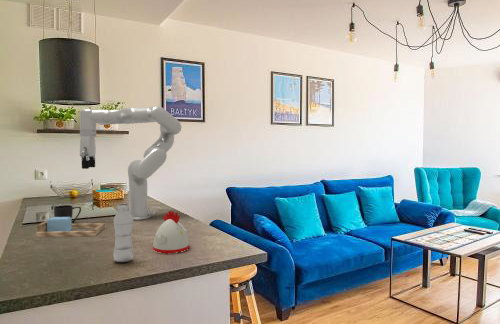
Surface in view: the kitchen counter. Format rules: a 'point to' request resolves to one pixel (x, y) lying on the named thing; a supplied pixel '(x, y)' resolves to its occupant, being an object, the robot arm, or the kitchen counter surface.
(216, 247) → the kitchen counter surface
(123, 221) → the plastic bottle
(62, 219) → the light blue block
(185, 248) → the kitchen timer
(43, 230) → the tray
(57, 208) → the mug
